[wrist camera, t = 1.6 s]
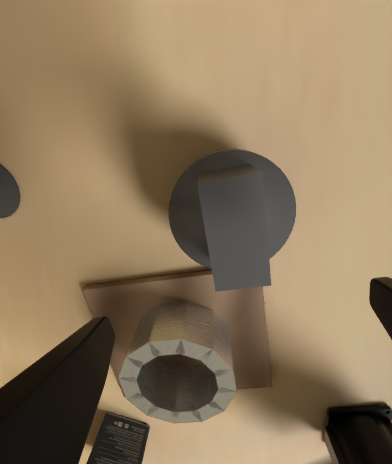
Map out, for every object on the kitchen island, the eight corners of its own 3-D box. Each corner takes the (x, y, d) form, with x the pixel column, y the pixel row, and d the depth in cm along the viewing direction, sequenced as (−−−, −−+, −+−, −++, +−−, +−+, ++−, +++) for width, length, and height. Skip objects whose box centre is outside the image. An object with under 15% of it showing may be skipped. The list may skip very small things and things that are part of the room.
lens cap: (275, 137, 18) (320, 139, 11) (281, 239, 21) (319, 295, 13) (167, 157, 19) (140, 170, 12) (186, 252, 22) (174, 311, 14)
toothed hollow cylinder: (224, 296, 22) (227, 334, 18) (236, 372, 25) (241, 419, 21) (124, 307, 23) (105, 346, 19) (148, 379, 26) (136, 425, 22)
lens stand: (259, 263, 22) (260, 268, 21) (270, 379, 26) (271, 386, 26) (86, 285, 23) (82, 290, 23) (126, 390, 28) (124, 396, 27)
